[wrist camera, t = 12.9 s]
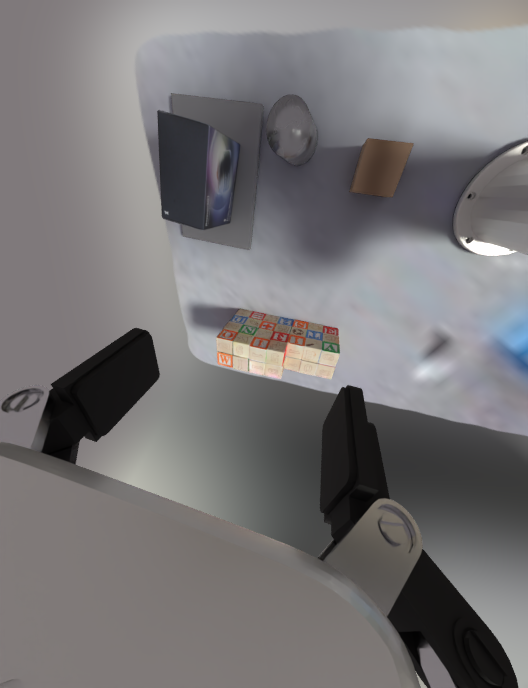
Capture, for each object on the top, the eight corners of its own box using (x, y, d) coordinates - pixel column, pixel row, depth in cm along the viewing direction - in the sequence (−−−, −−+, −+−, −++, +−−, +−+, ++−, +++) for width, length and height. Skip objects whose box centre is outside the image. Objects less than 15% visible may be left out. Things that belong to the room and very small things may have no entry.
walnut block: (401, 150, 28) (413, 143, 24) (384, 197, 31) (392, 197, 27) (362, 146, 29) (367, 138, 25) (349, 191, 32) (351, 191, 28)
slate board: (263, 106, 29) (261, 104, 28) (250, 248, 39) (249, 250, 39) (175, 96, 30) (171, 93, 30) (185, 235, 41) (182, 236, 40)
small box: (233, 225, 37) (204, 233, 29) (197, 214, 37) (159, 219, 29) (243, 143, 31) (210, 123, 22) (201, 131, 31) (153, 107, 23)
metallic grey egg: (308, 105, 28) (298, 80, 22) (323, 148, 29) (317, 135, 24) (275, 135, 30) (258, 119, 25) (291, 173, 32) (279, 166, 26)
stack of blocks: (339, 327, 44) (341, 365, 34) (331, 351, 47) (331, 392, 38) (239, 308, 47) (215, 337, 37) (238, 332, 51) (216, 365, 41)
